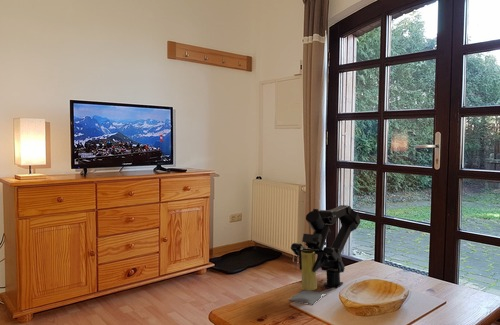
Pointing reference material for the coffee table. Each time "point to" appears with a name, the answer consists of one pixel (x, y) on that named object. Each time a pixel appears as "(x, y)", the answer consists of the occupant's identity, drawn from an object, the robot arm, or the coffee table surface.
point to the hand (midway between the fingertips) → (306, 270)
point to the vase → (308, 270)
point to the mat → (307, 296)
